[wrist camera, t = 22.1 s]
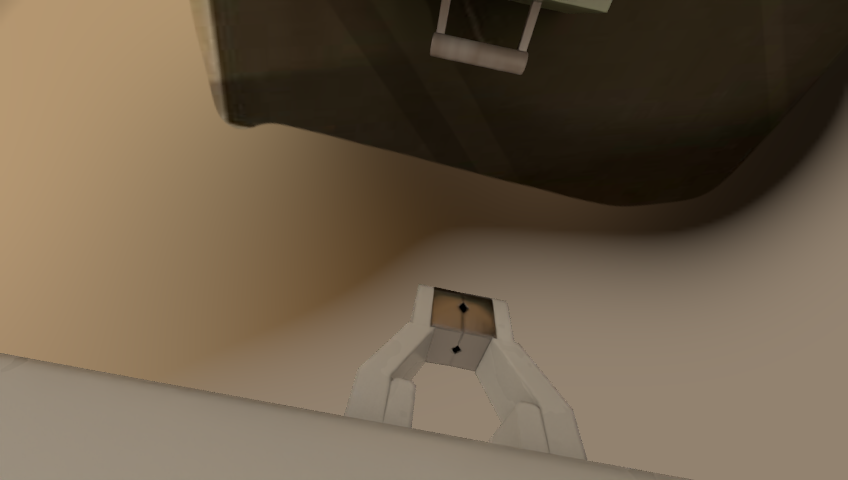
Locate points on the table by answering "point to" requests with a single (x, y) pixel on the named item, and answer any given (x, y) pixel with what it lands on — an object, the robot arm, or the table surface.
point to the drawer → (498, 56)
